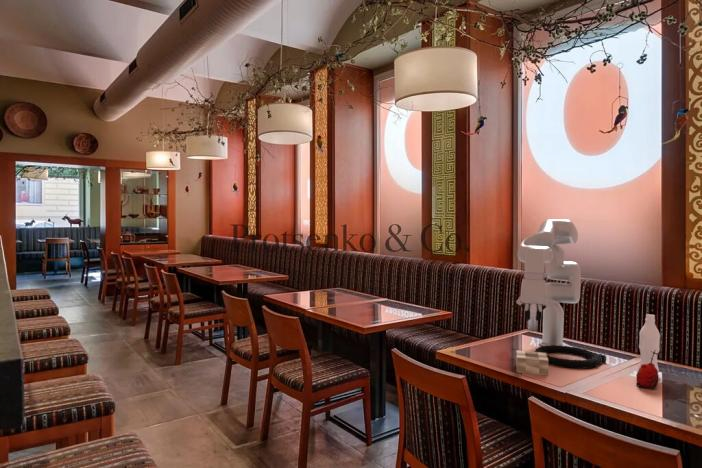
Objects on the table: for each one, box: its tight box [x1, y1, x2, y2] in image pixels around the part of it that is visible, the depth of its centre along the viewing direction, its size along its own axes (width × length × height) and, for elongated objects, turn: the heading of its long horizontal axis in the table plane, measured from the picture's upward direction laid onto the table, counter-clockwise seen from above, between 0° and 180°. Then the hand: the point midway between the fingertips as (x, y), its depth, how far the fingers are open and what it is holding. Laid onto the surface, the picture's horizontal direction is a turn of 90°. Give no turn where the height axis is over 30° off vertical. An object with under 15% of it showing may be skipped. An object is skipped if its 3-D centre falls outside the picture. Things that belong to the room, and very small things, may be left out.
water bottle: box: [637, 313, 661, 374], centre depth 195 cm, size 7×7×25 cm
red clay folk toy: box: [635, 350, 659, 390], centre depth 182 cm, size 8×7×15 cm
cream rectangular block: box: [515, 349, 549, 376], centre depth 201 cm, size 12×12×6 cm
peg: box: [527, 304, 539, 332], centre depth 200 cm, size 4×4×14 cm
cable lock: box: [533, 345, 607, 369], centre depth 216 cm, size 28×4×30 cm
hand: (532, 319), depth 201 cm, fingers closed on peg, 3 cm apart
